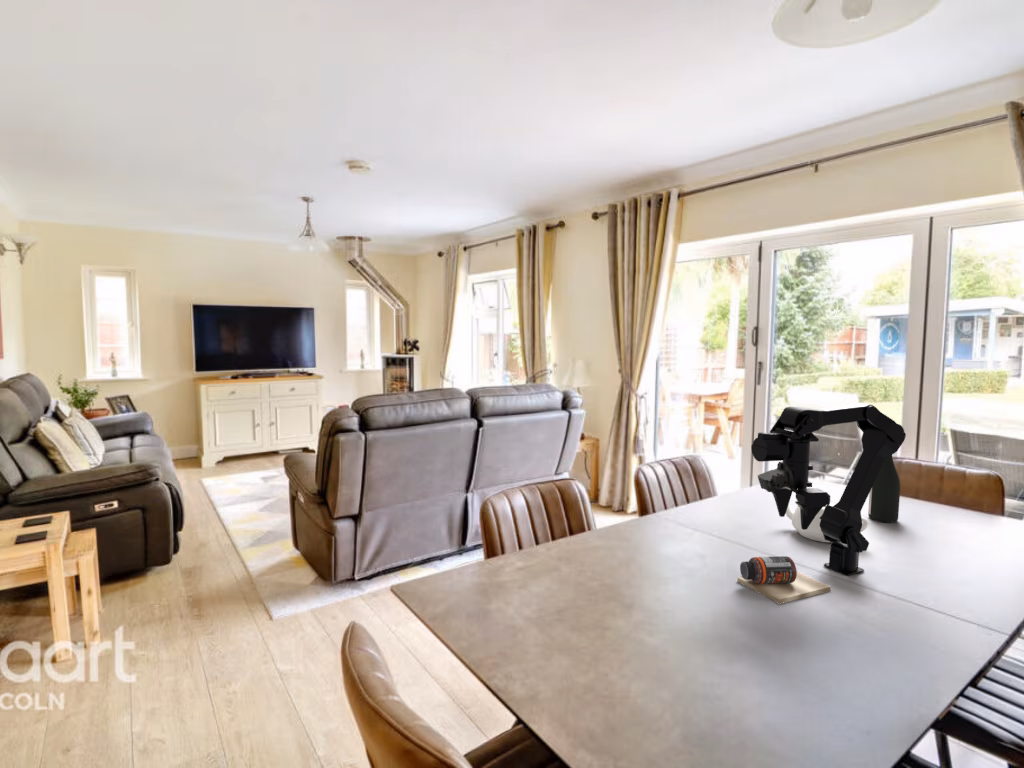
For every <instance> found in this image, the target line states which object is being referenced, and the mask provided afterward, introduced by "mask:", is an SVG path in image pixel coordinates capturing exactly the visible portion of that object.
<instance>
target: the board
mask: <svg viewBox="0 0 1024 768" xmlns="http://www.w3.org/2000/svg"><path fill="white" fill-rule="evenodd" d="M737 582H738V583H739V582H740V584H741V583H742V585H743V584H744V585H743V586H745V585H746V586H745V587H747V586H748V587H747V588H749V587H750V588H749V589H751V590H752V589H753V590H752V591H754V590H755V592H756V591H757V592H756V593H758V592H759V593H758V594H760V593H761V594H760V595H762V594H763V595H762V596H764V595H765V596H766V597H765V596H764V597H765V598H767V597H768V599H769V598H770V600H771V599H772V600H771V601H773V600H774V601H773V602H775V601H776V602H775V603H777V602H778V603H779V604H778V603H777V604H778V605H781V604H784V603H783V602H785V603H788V601H789V602H793V601H797V600H800V598H801V599H803V598H804V597H805V598H808V596H809V597H813V596H816V594H817V595H821V594H824V593H827V592H831V588H832V587H831V585H829V584H825V583H824V582H821V581H819V580H817V579H815V578H812V577H810V576H808V575H806V574H804V573H802V572H799V571H797V576H796V579H795V581H794V582H792V583H770V584H757V583H755V582H753V581H752V580H745V579H744V578H743V577H742V575H741V576H738V577H737ZM805 598H804V599H805ZM796 599H797V600H796ZM792 600H793V601H792ZM780 603H781V604H780Z"/></svg>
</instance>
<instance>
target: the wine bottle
mask: <svg viewBox="0 0 1024 768" xmlns="http://www.w3.org/2000/svg"><path fill="white" fill-rule="evenodd" d="M900 496H901V481H900V476H899V473H898V470H897V468H896V466H895V463H894V458H893V454H892V455H891V456H889V457H888V458H886V459H885V461H884V463H883V465H882V467H881V469H880V471H879V474H878V476H877V478H876V480H875V482H874V484H873V486H872V488H871V490H870V493H869V495H868V512H867V514H868V517H869V518H870V519H872V520H873V521H876V522H879V521H880V523H889V524H890V523H891V524H892V523H896V522H897V521H898V520H899V513H900V512H899V511H900V499H901V497H900Z"/></svg>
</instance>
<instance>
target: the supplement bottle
mask: <svg viewBox="0 0 1024 768" xmlns="http://www.w3.org/2000/svg"><path fill="white" fill-rule="evenodd" d="M739 566H740V567H739V571H740V575H741V576H742V577H743V578H744V579H745V580H752V581H753V582H755V583H757V584H770V583H792V582H794V581H795V579H796V576H797V572H798V571H797V568H796V564H795V561H794V560H793V559H792V557H789V556H784V555H783V556H780V555H779V556H754V557H753V556H752V557H751V558H750V559H749V560H748V561H741V563H740V565H739Z"/></svg>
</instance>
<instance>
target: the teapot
mask: <svg viewBox="0 0 1024 768" xmlns="http://www.w3.org/2000/svg"><path fill="white" fill-rule="evenodd" d="M837 503H838V501H832V500H830V506H834V505H835V504H837ZM826 506H827V505H826ZM824 509H825V507H822V509H821V510H820V511H819V512H818V514H817V515H816V516H815V518H814V519H813V521H812V522H811V524H810V525H809V527H808V528H807V529H806V530H803V529H802V528H801V514H800V507H799V506H798V505H797V506H796V508H795V509H794V508H793V507H792V506H791V504H790V503H789V504H788V508H787V511H786V513H785V516H786V517H787V518H788V519H789V520H790V521H791V524H792V526H793V528H794V529H795V531H797V532H798V533H799V534H800V535H801V536H802V537H804V538H807V539H809V540H813V541H816V542H820V543H821V542H822V543H831V542H830V541H828V540H825V539H824V535H823V533H822V531H821V528H820V521H821V519H820V517H821V516H822V514H823V512H824ZM861 518H862V528H861V531H860V533H861V534H862V533H863V532H864V531H865V530H866V529H867V528H868V525H869V521H868V519H867V518H866V517H864V516H862V515H861Z"/></svg>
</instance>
